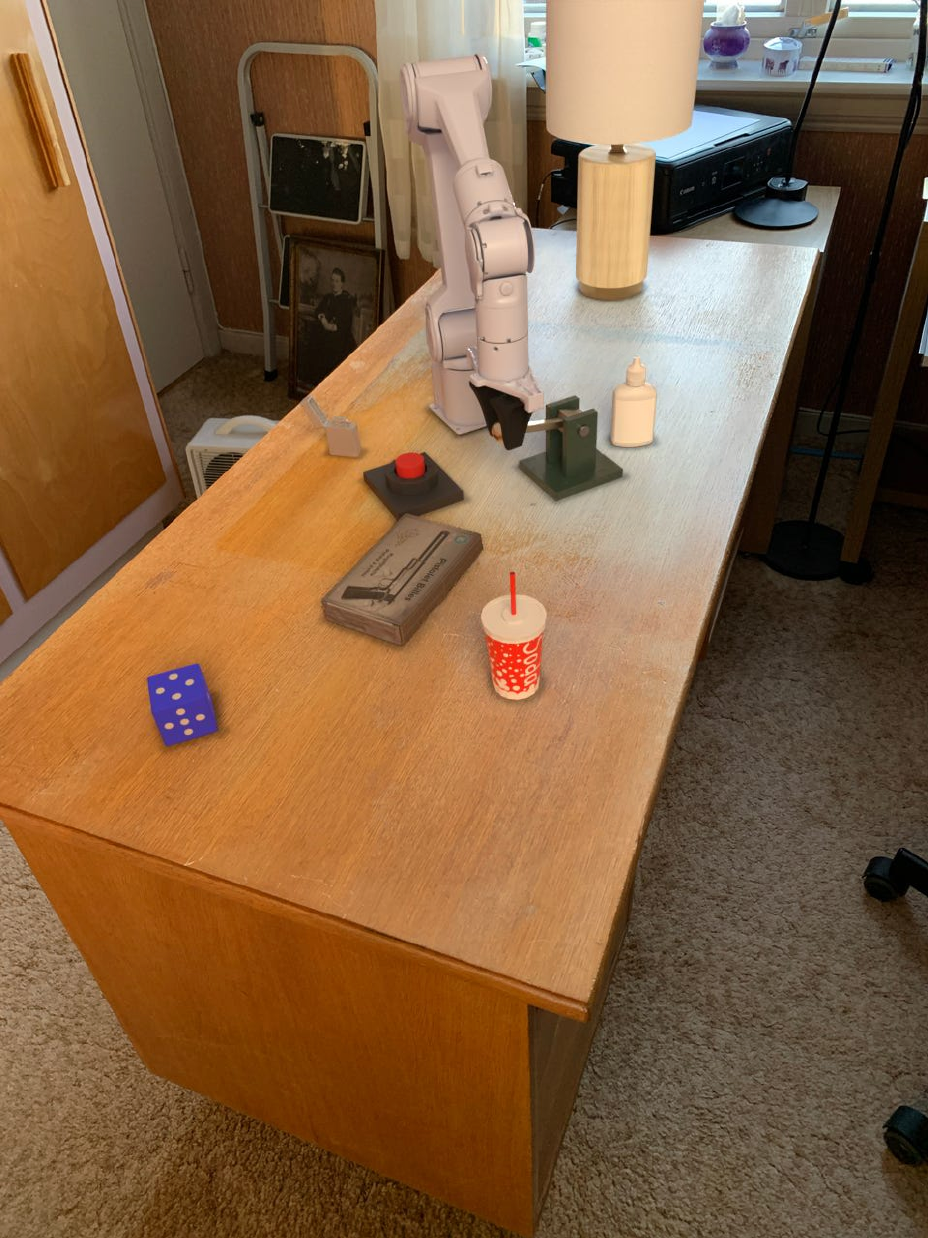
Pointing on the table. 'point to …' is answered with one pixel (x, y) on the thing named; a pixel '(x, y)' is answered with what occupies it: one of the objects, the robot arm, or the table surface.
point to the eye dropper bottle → (633, 409)
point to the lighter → (334, 429)
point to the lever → (539, 424)
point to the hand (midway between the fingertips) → (505, 439)
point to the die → (181, 704)
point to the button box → (413, 489)
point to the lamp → (618, 120)
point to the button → (410, 465)
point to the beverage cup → (514, 642)
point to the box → (402, 578)
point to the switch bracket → (570, 455)
